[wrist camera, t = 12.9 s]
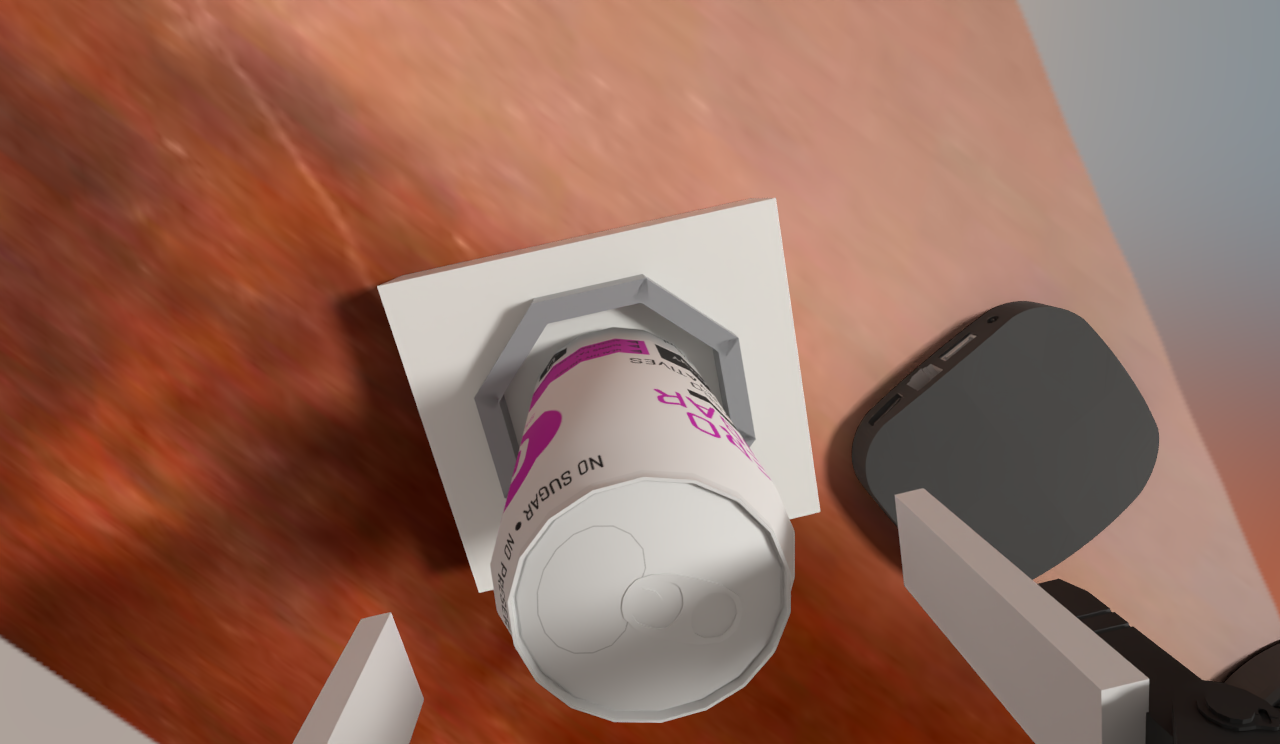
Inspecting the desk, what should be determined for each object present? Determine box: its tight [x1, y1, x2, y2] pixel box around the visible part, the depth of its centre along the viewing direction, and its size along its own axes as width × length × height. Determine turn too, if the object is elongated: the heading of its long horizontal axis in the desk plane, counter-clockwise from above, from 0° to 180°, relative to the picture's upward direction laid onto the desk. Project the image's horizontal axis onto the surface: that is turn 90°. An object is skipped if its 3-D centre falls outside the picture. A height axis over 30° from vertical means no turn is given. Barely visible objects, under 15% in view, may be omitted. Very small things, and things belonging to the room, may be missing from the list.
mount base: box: [377, 198, 820, 593], centre depth 31 cm, size 18×16×6 cm
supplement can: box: [490, 327, 795, 723], centre depth 22 cm, size 8×8×15 cm
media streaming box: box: [852, 301, 1159, 580], centre depth 35 cm, size 15×15×3 cm
